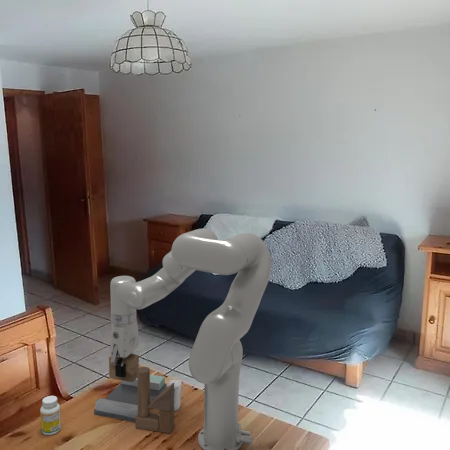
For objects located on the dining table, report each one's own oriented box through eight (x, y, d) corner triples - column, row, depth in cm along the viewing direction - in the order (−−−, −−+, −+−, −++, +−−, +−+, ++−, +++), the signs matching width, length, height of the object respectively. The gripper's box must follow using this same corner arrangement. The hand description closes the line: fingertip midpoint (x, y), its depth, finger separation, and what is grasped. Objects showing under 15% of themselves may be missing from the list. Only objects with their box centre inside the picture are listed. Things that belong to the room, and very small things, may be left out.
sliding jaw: (164, 383, 156) (164, 376, 156) (159, 390, 152) (159, 383, 151) (127, 377, 160) (127, 370, 160) (121, 383, 156) (120, 377, 155)
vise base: (166, 387, 157) (166, 376, 156) (138, 423, 137) (138, 410, 136) (126, 380, 161) (126, 370, 160) (94, 414, 141) (93, 402, 140)
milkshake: (178, 414, 142) (178, 384, 140) (164, 409, 144) (164, 379, 142) (186, 407, 145) (186, 378, 144) (173, 402, 148) (173, 373, 146)
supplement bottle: (56, 436, 130) (55, 405, 128) (38, 435, 130) (36, 404, 129) (64, 424, 135) (62, 394, 134) (46, 423, 136) (44, 393, 134)
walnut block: (138, 376, 144) (138, 355, 142) (132, 382, 140) (132, 360, 139) (115, 371, 146) (115, 351, 144) (109, 378, 142) (108, 356, 141)
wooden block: (170, 434, 132) (170, 376, 129) (135, 428, 134) (134, 371, 131) (174, 426, 136) (174, 370, 132) (140, 421, 138) (139, 365, 135)
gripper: (121, 329, 130) (122, 388, 134) (147, 309, 146) (147, 362, 149) (97, 325, 132) (99, 384, 136) (125, 306, 148) (126, 359, 151)
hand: (124, 372), depth 143 cm, fingers closed on walnut block, 4 cm apart
